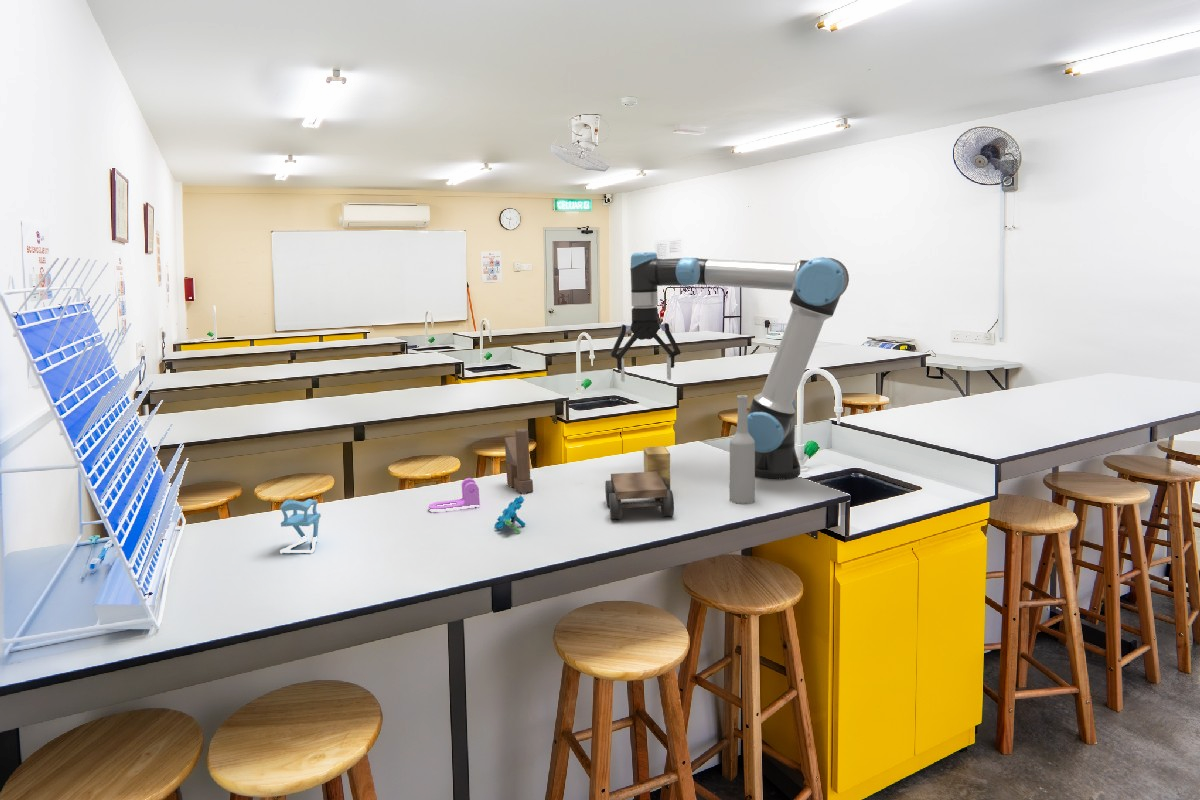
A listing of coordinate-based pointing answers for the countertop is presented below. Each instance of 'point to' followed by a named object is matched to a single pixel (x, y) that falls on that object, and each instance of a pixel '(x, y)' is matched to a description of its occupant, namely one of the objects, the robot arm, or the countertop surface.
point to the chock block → (658, 462)
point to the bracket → (468, 496)
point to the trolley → (638, 492)
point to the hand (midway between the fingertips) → (646, 380)
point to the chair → (300, 515)
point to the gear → (511, 515)
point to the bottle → (742, 459)
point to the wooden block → (518, 461)
